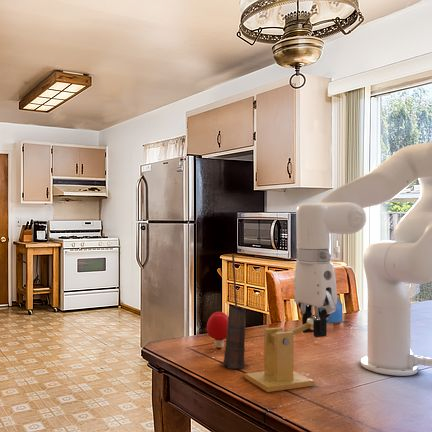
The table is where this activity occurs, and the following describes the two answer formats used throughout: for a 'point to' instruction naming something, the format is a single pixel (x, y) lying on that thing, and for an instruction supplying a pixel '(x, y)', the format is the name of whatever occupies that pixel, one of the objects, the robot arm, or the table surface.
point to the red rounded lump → (218, 328)
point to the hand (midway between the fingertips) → (314, 333)
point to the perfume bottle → (335, 313)
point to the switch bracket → (278, 364)
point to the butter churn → (235, 334)
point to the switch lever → (297, 328)
